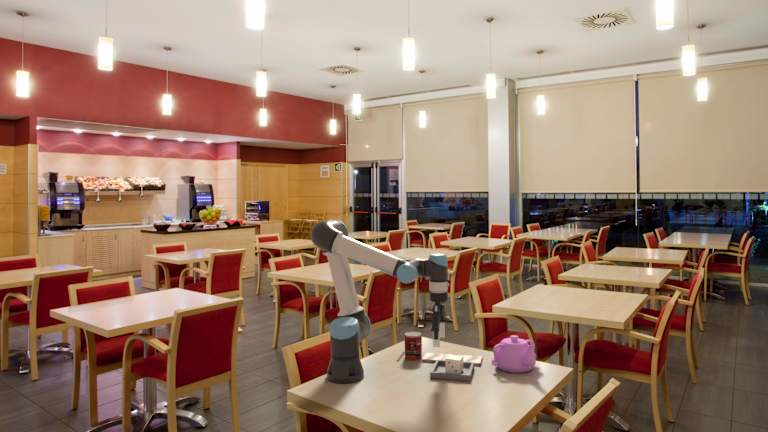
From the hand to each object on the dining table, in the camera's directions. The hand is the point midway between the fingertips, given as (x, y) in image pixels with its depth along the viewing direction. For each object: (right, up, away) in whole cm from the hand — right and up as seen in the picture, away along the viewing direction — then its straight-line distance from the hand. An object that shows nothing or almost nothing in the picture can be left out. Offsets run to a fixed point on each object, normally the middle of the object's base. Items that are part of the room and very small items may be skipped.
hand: (439, 342), depth 214 cm
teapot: (+33, -12, +2) cm, 35 cm away
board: (+2, -12, +17) cm, 21 cm away
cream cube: (+3, -9, 0) cm, 9 cm away
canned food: (-10, -12, +20) cm, 25 cm away
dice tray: (+6, -13, -1) cm, 14 cm away
